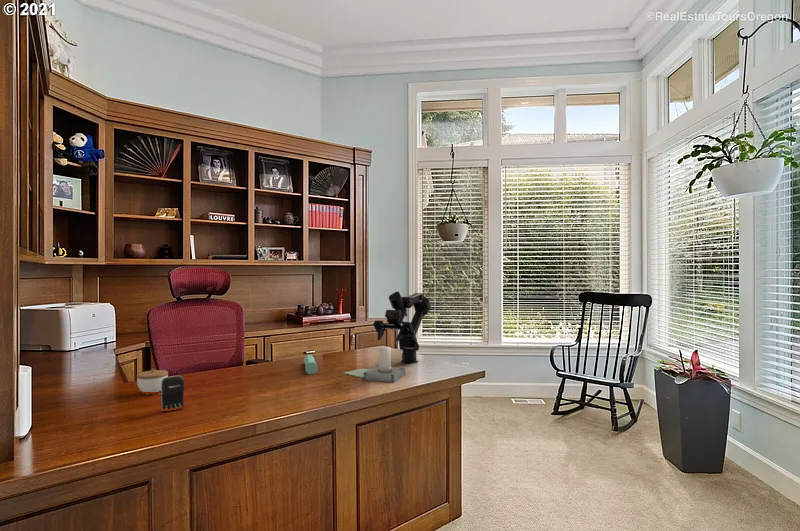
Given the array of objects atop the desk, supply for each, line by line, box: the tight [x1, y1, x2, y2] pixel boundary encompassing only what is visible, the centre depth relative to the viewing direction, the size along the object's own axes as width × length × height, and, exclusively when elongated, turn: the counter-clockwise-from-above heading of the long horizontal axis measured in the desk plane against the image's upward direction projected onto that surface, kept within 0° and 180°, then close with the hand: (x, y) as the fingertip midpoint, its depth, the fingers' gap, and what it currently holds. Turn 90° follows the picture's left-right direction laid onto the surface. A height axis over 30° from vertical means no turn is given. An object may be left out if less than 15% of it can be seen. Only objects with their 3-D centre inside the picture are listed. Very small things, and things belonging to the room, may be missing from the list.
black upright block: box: [160, 375, 185, 409], centre depth 160 cm, size 7×4×11 cm, turn 129°
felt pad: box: [343, 368, 370, 379], centre depth 213 cm, size 12×12×1 cm
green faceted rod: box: [303, 354, 319, 375], centre depth 225 cm, size 6×6×25 cm
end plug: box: [378, 346, 392, 372], centre depth 206 cm, size 5×5×13 cm
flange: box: [363, 365, 406, 383], centre depth 206 cm, size 14×14×3 cm
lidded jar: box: [136, 368, 169, 393], centre depth 182 cm, size 11×11×9 cm
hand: (387, 340), depth 214 cm, fingers open, 9 cm apart
